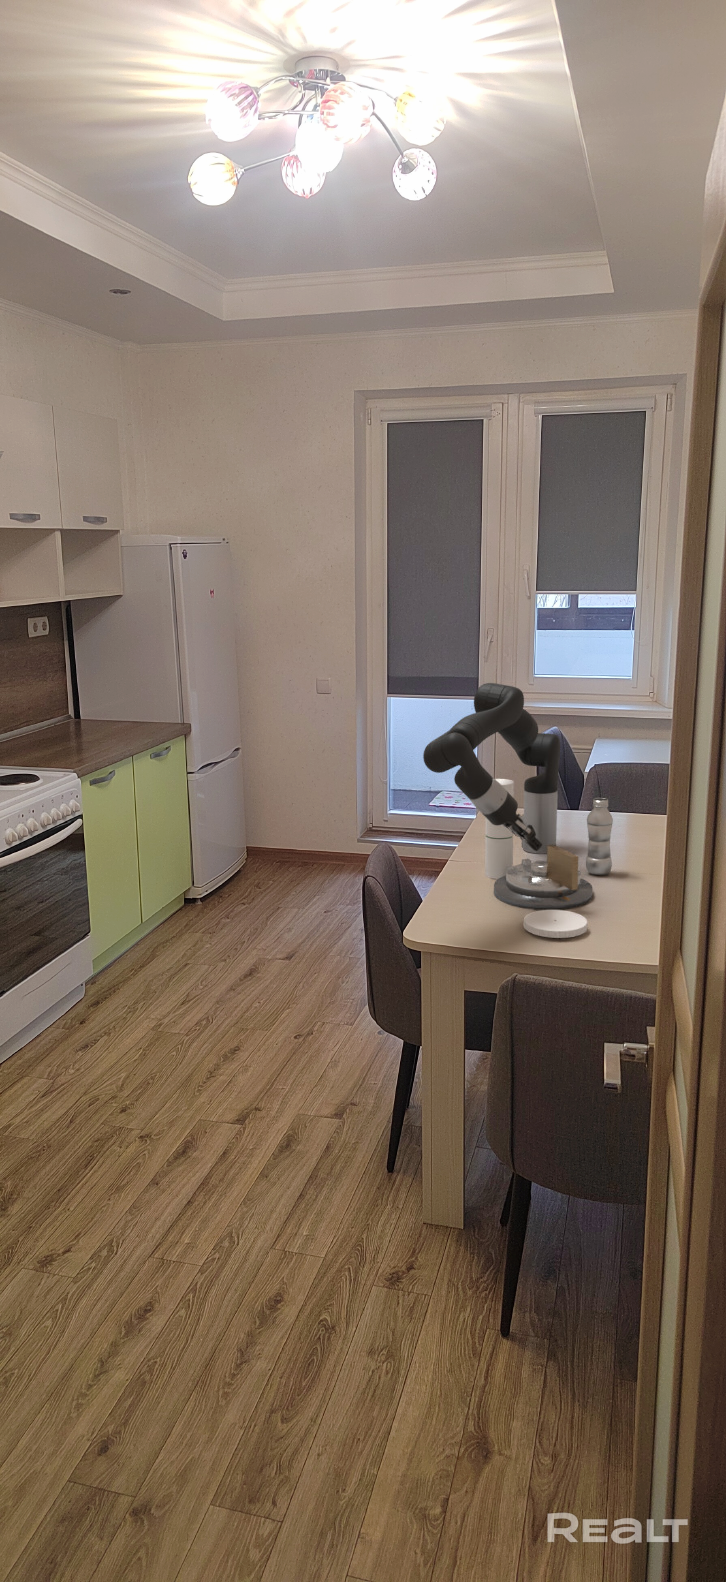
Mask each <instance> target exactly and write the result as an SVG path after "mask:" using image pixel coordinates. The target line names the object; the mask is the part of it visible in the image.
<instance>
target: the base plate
mask: <svg viewBox="0 0 726 1582" xmlns="http://www.w3.org/2000/svg"><path fill="white" fill-rule="evenodd" d="M593 891H594V890H593V885H592V884H591V883H590V882H589V881H587V880H586V879H584V878H582V877H580V889H579V890H578V891H576V892H574V893H572V894H568V895H563V896H554V897H540V896H530V895H525V894H520V893H517V892H515V891H512V890H511V889H509V888H508V887H507V886H506V876H503V877H501V878H499V879H495V881H494V883H493V895H494V897H495V898H496V899H497V900H499V901H500V902H503V903H504V904H506V905H509V906H512V907H517V908H522V909H528V910H534V911H536V910H537V911H541V910H562V911H563V910H569V909H574V908H578V907H581V906H584V905H586V904H588V903H590V902H591V900H592V899H593Z"/></svg>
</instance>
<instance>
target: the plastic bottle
mask: <svg viewBox="0 0 726 1582" xmlns="http://www.w3.org/2000/svg"><path fill="white" fill-rule="evenodd" d="M592 801H593V802H592V803H593V804H592V809H591V811H590V812H589V813H588V814H587V817H586V824H587V826H586V827H587V832H588V834H587V835H588V837H587V838H588V846H587V847H588V848H587V855H586V858H585V859H586V860H585V868H586V871H587V872H588V873H589V874H591V875H598V876H605V875H608V874H609V873H610V872H611V870H612V867H613V862H612V856H611V834H612V828H613V823H614V818H613V816H612V813H611V812H610V811H609V808H608V807H609V799H608V798H605V797H604V798H603V797H595V798H593V800H592Z"/></svg>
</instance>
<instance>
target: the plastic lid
mask: <svg viewBox="0 0 726 1582" xmlns="http://www.w3.org/2000/svg"><path fill="white" fill-rule="evenodd" d="M523 929H524V930H525V931H526V932H529V933H531V934H533V935H535V936H540V937H543V938H544V937H545V938H552V939H553V938H555V939H559V938H560V939H566V938H573V937H577V936H581V935H583V934H585V933H586V932H587V930H588V919H587V918H586V916H583V914H582V915H581V914H579V913H577V912H572V911H569V910H565V909H562V910H537V911H536V910H534V911H533V912H530V913H527V914H526V915H525V916H524V918H523Z"/></svg>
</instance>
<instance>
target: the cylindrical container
mask: <svg viewBox="0 0 726 1582" xmlns="http://www.w3.org/2000/svg"><path fill="white" fill-rule="evenodd" d="M494 779H495V780H496V781H498V782H499V783H500V784H501V785H502V786H503V787H504V788H505V789H506V791H507V792H508V793H509V794H510V795H511V796H512V797H513V798H514V799H515V797H514V796H515V792H514V790H515V781H514V780H511V779H507V778H494ZM484 822H485V830H484V831H485V832H484V833H485V838H484V840H485V842H484V843H485V844H484V846H485V847H484V849H485V851H484V853H485V854H484V856H485V857H484V858H485V859H484V875H485V877H487V878H489V879H493V880H497V879H499V878H501V877H503V876H506V871H507V867H512V866H514V864H513V863H514V862H513V861H514V860H513V859H514V857H513V856H514V834H513V833H512V832H511V831H510V830H509V829H508V828H505V827H504V826H503V825H493V824H492V823H491V822H490V821H489V820H488V819H487V818H486V817H485V821H484Z"/></svg>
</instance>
